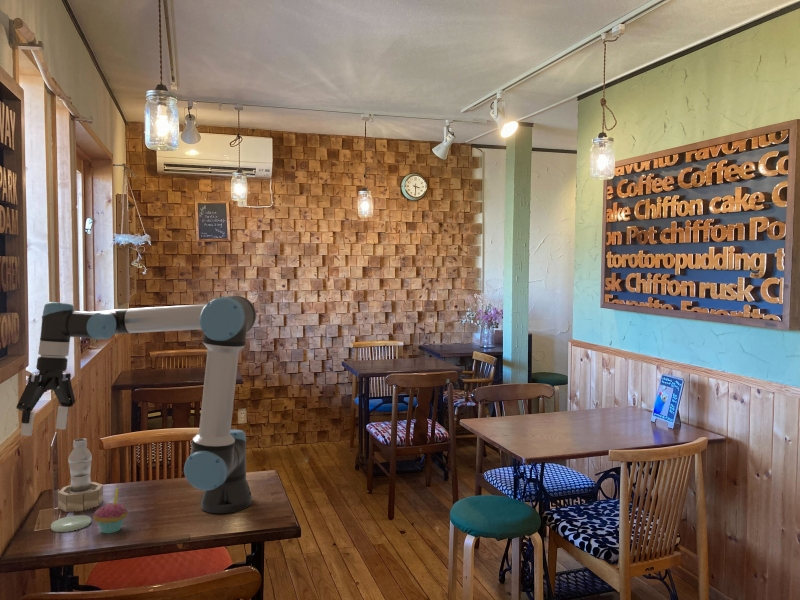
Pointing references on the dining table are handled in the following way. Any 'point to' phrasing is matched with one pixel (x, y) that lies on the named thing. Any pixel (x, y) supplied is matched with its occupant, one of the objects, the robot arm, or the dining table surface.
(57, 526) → the sage coaster
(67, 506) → the birch collar
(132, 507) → the dining table surface
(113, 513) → the cupcake
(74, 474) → the plastic bottle
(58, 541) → the dining table surface
